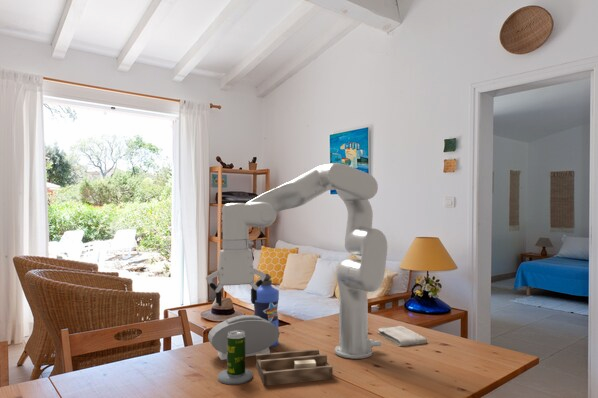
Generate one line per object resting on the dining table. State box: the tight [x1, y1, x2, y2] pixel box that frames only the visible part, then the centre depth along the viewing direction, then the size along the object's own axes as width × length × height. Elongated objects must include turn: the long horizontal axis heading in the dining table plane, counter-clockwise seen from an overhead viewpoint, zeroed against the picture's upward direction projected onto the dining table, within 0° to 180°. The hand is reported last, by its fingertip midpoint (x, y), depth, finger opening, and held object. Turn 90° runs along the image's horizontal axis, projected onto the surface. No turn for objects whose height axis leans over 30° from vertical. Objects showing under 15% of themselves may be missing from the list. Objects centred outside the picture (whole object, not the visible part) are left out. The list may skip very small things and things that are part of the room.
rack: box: [255, 348, 333, 387], centre depth 129 cm, size 20×14×5 cm
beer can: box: [226, 330, 247, 377], centre depth 126 cm, size 5×5×12 cm
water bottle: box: [253, 273, 280, 348], centre depth 157 cm, size 9×9×25 cm
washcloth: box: [376, 325, 428, 347], centre depth 163 cm, size 12×18×3 cm, turn 20°
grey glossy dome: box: [217, 368, 254, 385], centre depth 126 cm, size 10×10×1 cm
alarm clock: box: [207, 314, 281, 361], centre depth 146 cm, size 23×6×13 cm, turn 113°
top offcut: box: [294, 360, 316, 369], centre depth 126 cm, size 6×3×2 cm, turn 97°
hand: (236, 304), depth 126 cm, fingers open, 9 cm apart
